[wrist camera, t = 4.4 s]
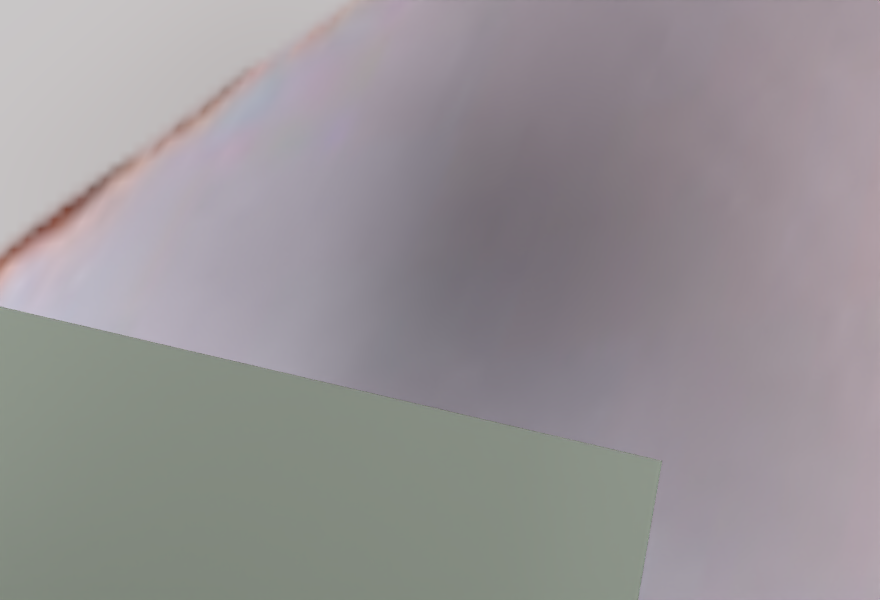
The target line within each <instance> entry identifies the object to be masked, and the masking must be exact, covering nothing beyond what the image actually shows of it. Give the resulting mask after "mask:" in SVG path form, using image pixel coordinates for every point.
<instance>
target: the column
mask: <svg viewBox="0 0 880 600" xmlns="http://www.w3.org/2000/svg"><path fill="white" fill-rule="evenodd" d="M661 464H662V461H660V460H656V459H651V458H647V457H643V456H639V455H634V454H630V453H626V452H621V451H617V450H613V449H609V448H604V447H600V446H596V445H591V444H587V443H583V442H579V441H574V440H570V439H566V438H561V437H557V436H553V435H549V434H544V433H540V432H536V431H531V430H527V429H523V428H519V427H514V426H510V425H506V424H501V423H497V422H493V421H489V420H484V419H480V418H476V417H471V416H467V415H463V414H458V413H454V412H450V411H446V410H441V409H437V408H433V407H428V406H424V405H420V404H416V403H411V402H407V401H403V400H398V399H394V398H390V397H386V396H381V395H377V394H373V393H368V392H364V391H360V390H356V389H351V388H347V387H343V386H338V385H334V384H330V383H326V382H321V381H317V380H313V379H308V378H304V377H300V376H295V375H291V374H287V373H283V372H278V371H274V370H270V369H265V368H261V367H257V366H253V365H248V364H244V363H240V362H235V361H231V360H227V359H223V358H218V357H214V356H210V355H205V354H201V353H197V352H193V351H188V350H184V349H180V348H175V347H171V346H167V345H163V344H158V343H154V342H150V341H145V340H141V339H137V338H132V337H128V336H124V335H120V334H115V333H111V332H107V331H102V330H98V329H94V328H90V327H85V326H81V325H77V324H72V323H68V322H64V321H60V320H55V319H51V318H47V317H42V316H38V315H34V314H30V313H25V312H21V311H17V310H12V309H8V308H4V307H0V600H638V596H639V590H640V585H641V579H642V573H643V567H644V562H645V556H646V550H647V545H648V539H649V533H650V527H651V522H652V516H653V510H654V504H655V499H656V493H657V487H658V481H659V476H660V470H661Z"/></svg>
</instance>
